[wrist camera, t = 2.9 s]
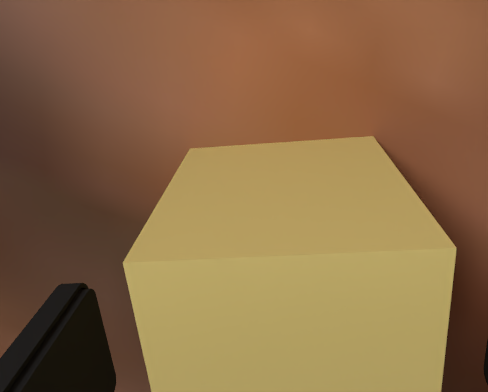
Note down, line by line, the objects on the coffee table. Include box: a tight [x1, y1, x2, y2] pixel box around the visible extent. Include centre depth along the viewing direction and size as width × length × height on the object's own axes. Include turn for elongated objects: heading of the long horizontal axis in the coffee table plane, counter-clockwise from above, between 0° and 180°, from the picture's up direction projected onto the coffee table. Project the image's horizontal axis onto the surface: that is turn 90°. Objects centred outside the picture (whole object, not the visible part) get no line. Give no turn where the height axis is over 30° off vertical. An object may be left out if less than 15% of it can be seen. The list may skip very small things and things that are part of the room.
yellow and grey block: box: [123, 136, 457, 392], centre depth 10 cm, size 7×5×6 cm, turn 5°
